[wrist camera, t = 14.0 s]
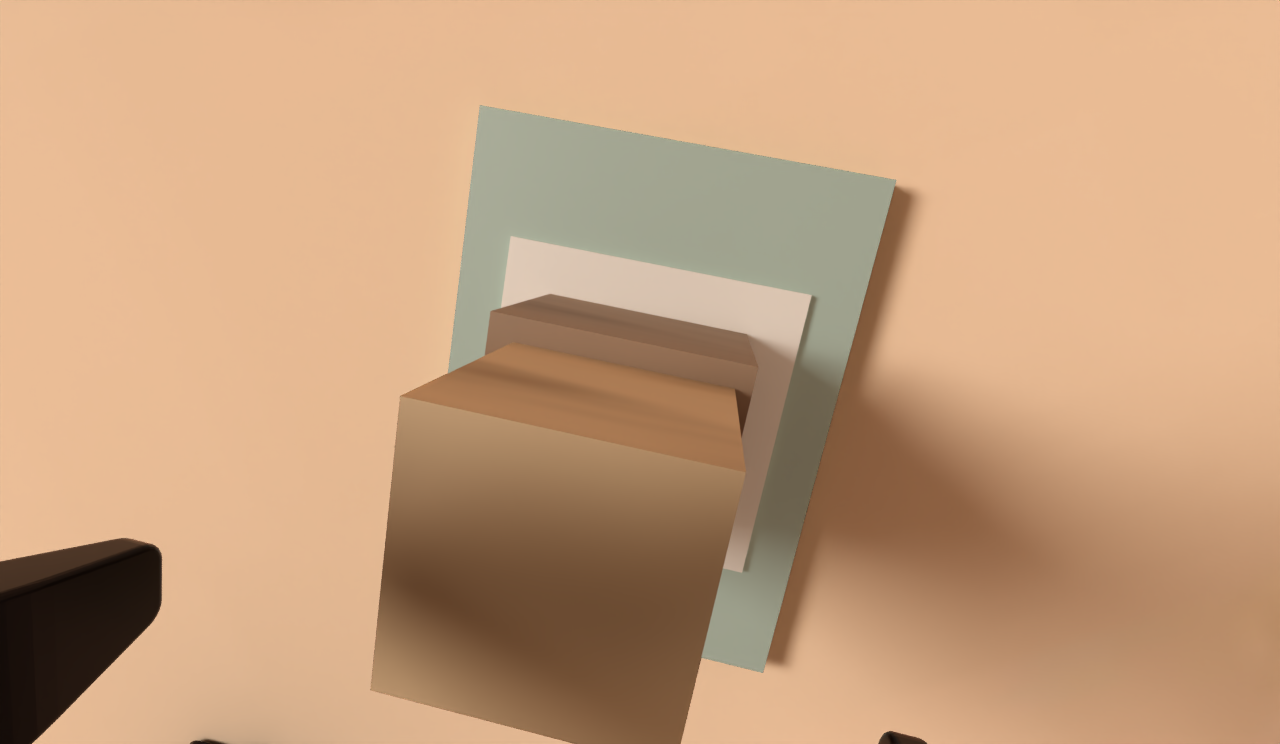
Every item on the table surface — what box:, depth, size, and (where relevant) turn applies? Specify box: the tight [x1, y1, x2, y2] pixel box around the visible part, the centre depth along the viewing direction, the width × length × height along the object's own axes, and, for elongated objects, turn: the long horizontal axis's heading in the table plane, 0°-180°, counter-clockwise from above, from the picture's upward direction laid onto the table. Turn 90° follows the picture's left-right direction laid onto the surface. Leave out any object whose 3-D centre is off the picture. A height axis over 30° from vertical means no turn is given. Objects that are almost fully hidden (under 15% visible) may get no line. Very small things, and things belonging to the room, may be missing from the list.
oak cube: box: [370, 342, 746, 744], centre depth 11 cm, size 5×5×5 cm
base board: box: [448, 105, 896, 673], centre depth 19 cm, size 16×12×1 cm
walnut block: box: [485, 294, 758, 438], centre depth 16 cm, size 6×6×5 cm
